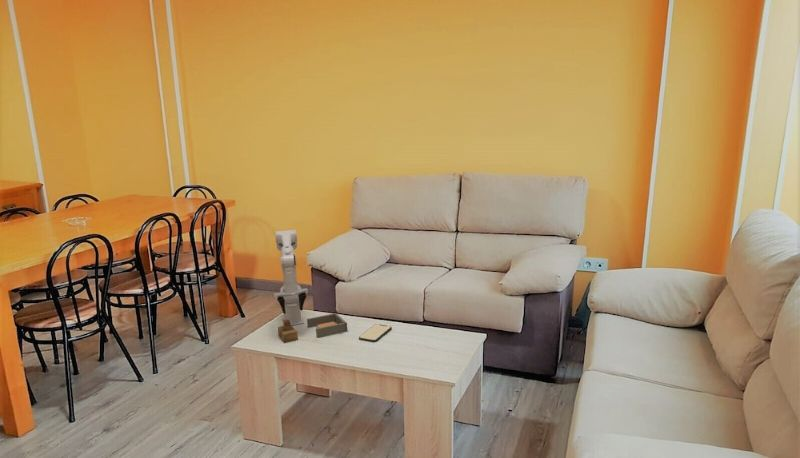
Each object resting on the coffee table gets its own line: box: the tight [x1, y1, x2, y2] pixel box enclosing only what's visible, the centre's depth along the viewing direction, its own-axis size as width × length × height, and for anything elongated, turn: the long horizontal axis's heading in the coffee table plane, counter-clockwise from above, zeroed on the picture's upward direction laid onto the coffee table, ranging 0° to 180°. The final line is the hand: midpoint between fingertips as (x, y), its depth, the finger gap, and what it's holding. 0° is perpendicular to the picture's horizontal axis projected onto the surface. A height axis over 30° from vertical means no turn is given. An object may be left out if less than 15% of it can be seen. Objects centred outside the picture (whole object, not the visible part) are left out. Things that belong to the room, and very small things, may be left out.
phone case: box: [358, 323, 392, 343], centre depth 258 cm, size 9×2×16 cm
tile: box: [316, 322, 337, 328], centre depth 265 cm, size 8×8×2 cm
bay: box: [306, 312, 348, 339], centre depth 265 cm, size 14×14×4 cm
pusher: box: [277, 319, 299, 344], centre depth 257 cm, size 10×6×8 cm, turn 26°
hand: (292, 311), depth 259 cm, fingers open, 7 cm apart
